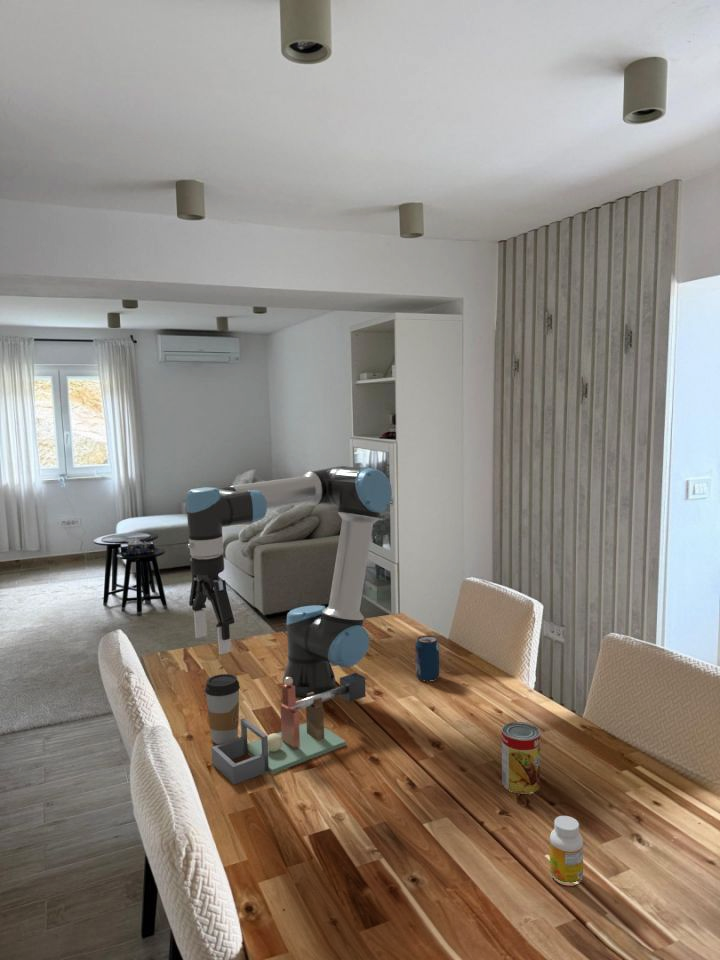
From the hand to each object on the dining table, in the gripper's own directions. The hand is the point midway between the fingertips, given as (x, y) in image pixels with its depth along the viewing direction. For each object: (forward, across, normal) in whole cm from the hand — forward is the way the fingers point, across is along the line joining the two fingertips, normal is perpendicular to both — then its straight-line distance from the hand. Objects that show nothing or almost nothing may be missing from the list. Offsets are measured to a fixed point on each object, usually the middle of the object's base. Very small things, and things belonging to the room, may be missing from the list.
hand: (212, 644), depth 157 cm
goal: (+26, +11, +1) cm, 28 cm away
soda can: (+27, 0, +66) cm, 72 cm away
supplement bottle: (+26, +77, +28) cm, 87 cm away
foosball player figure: (+26, +10, +20) cm, 35 cm away
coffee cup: (+26, -4, +3) cm, 26 cm away
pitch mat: (+26, +11, +14) cm, 32 cm away
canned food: (+27, +54, +44) cm, 75 cm away
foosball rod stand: (+25, +10, +23) cm, 36 cm away
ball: (+23, +11, +9) cm, 27 cm away
